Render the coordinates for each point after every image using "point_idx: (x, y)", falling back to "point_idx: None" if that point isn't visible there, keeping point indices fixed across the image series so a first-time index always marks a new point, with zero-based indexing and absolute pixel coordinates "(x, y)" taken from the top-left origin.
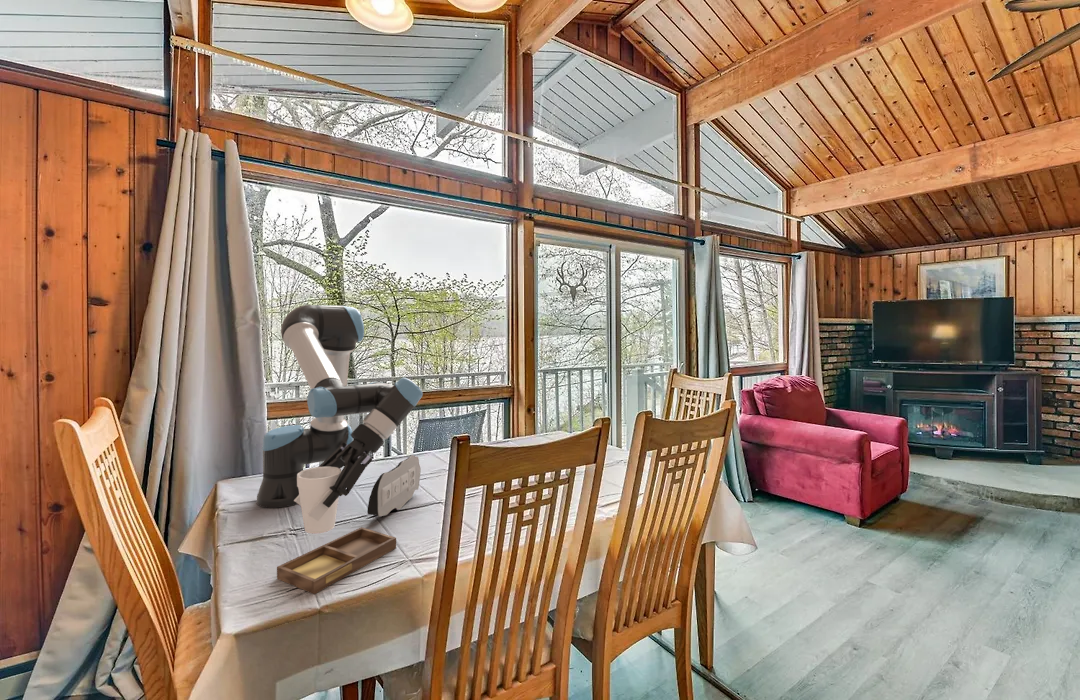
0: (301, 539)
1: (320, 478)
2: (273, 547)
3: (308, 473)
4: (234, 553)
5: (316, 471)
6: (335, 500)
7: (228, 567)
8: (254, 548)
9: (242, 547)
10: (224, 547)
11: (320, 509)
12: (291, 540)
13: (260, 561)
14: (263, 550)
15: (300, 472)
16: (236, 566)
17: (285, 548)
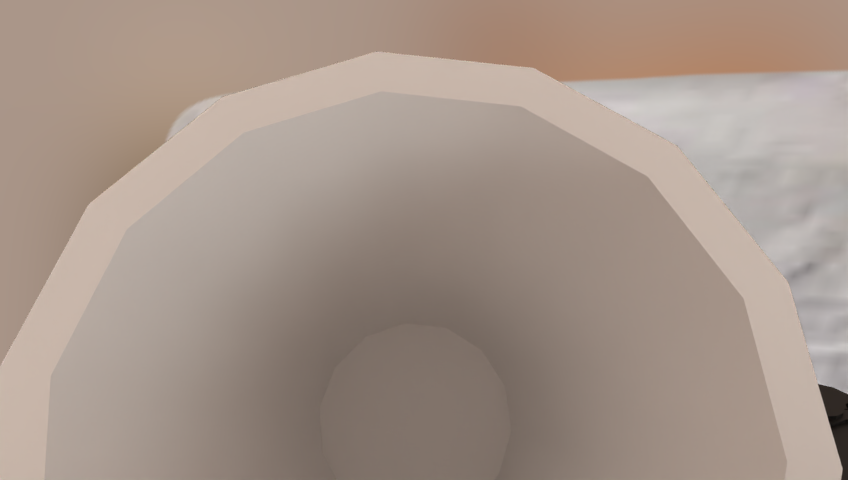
0: (829, 375)
1: (18, 385)
2: (777, 250)
3: (667, 264)
4: (769, 108)
5: (729, 399)
6: None
7: (643, 91)
8: (793, 177)
9: (821, 135)
10: (844, 74)
11: None
12: (832, 329)
13: None
14: (759, 210)
15: (578, 114)
16: (640, 116)
17: None
